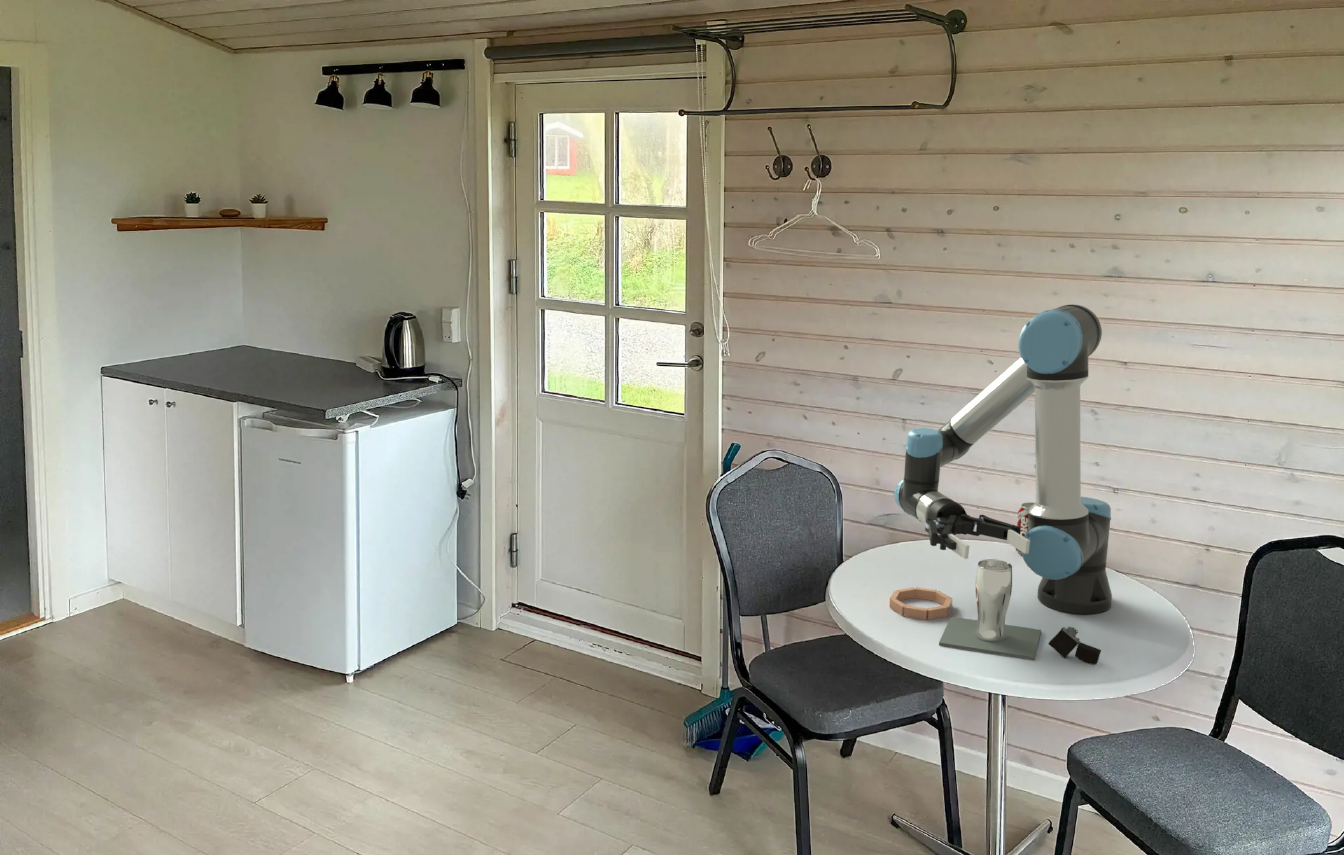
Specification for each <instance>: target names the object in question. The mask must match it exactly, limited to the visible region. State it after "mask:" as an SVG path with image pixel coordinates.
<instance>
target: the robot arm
mask: <svg viewBox="0 0 1344 855" xmlns="http://www.w3.org/2000/svg"><path fill="white" fill-rule="evenodd" d="M1102 335H1103V330H1102V324H1101V322H1100V320H1099V317H1098V316H1097V315H1096V313H1094V312H1093V311H1092V310H1090V309H1089V308H1087V307H1085V306H1083V305H1080V304H1075V303H1074V304H1065V305H1064V304H1063V305H1062V306H1057V308H1053V309H1047V310H1043V311H1041V312H1039V313H1037V314H1035V315H1034V316H1033V317H1032V318H1031V319H1030V320H1029V321H1027V322H1026V323H1025V324H1024V326H1023V327H1022V329H1021V331H1020V333H1019V337H1018V344H1017V346H1018V352H1019V355H1020V357H1019V358H1018V359H1017V360H1016V361H1014V362H1013V363H1012V364H1011V365H1010V366H1009V367H1007V369H1005V370H1004V371H1003V372H1002V373H1001V374H999V376H998V377H996V378H995V379H994V380H993V381H992V382H991V383H990V384H989V385H987V386H986V387H985V388H984V389H983V390H982V391H981V392H979V394H977V395H976V396H975V397H974V398H973V399H972V400H970V401H969V403H967V404H966V405H965V406H964V407H962V408H961V409H960V410H959V411H958V412H957V413H956V414H955V415H954V416H952V418H950V419H949V420H948V421H947V422H946V423H944V424H943V426H941V427H940V428H939V429H933V428H928V427H919V428H913V429H911V430H909V431H908V433H907V438H906V443H905V456H904V457H905V458H904V459H905V460H904V471H903V472H904V475H903V476H904V477H903V479H902V480H901V481H899V482H898V484H897V486H896V488H895V489H894V494H893V496H894V501H895V503H896V505H897V506H898V507H899V508H900V509H902V510H903V512H904V513H905V514H907V515H909V516H911V517H913V518H915V519H916V520H918V521H919V522H920V523H922V524H924V527H925V528H924V531H925V532H926V533H927V534H928V538H929V544H930V546H932V547H937V545H938V544H939V550H941V551H946V550H947V549H949V550H950V551H952V552H954V553H955V554H957V555H958V556H959V557H961V558H963V559H965V560H967V559H969V553H970V544H969V543H966V541H963V540H962V539H961V538H959V537H957V536H956V535H965V536H966V535H970V536H975V537H979V536H981V535H982V536H986V537H988V538H989V537H990V538H995V539H999V540H1005V541H1006V544H1009V545H1010V546H1012V547H1014V548H1015V549H1016V548H1017V549H1018V550H1020V551H1021V553H1022V554H1021V556H1022V558H1023V561H1024V563H1025V564H1026V566H1027V568H1029V569H1030V570H1031V571H1032V572H1033V573H1034V574H1035V575H1038V576H1039V577H1041V579H1040V581H1039V583H1038V584H1039V585H1038V588H1037V596H1036V597H1037V599H1038V601H1039V602H1041V604H1043V605H1044V606H1046V607H1048V608H1051V609H1054V610H1056V611H1059V612H1064V613H1069V614H1076V615H1077V614H1079V615H1093V614H1100V613H1104V612H1106V611H1108V610H1109V609H1111V607H1112V602H1113V601H1112V600H1113V594H1112V590H1111V587H1110V586H1111V585H1110V582H1109V579H1108V575H1107V570H1106V568H1107V559H1108V549H1109V548H1108V547H1109V539H1110V538H1109V537H1110V528H1111V527H1110V526H1111V520H1112V516H1111V515H1112V514H1111V513H1112V512H1111V510H1112V509H1111V507H1110V504H1108V502H1106V501H1104V500H1100V499H1099V498H1098V499H1097V498H1092V497H1087V496H1081V489H1082V488H1081V385H1082V384H1083V383H1084V382H1085V381H1086V380H1088V378H1089V357H1090V356H1092V354H1094V352H1096V350H1097V348H1098V347H1099V346H1100V343H1101V340H1102ZM1032 395H1034V428H1035V429H1034V436H1035V437H1034V438H1035V439H1034V440H1035V441H1034V442H1035V444H1034V446H1035V454H1034V455H1035V502H1033V503H1034V504H1033V505H1032V506H1031V507H1030V508H1029V510H1028V532H1027V533H1026V534H1025V536H1024V537H1023V536H1022V535H1020V530H1021V527H1019V526H1017V525H1015V524H1012V523H1008V522H1005V521H1001V520H999V519H994V518H992V517H989V516H987V515H985V514H979V516H978V518H977V517H974V516H973V517H972V516H971V515H969V514H967V511H966V509H965V508H964V507H963V506H962V504H959V503H958V502H956V501H954V500H953V499H952V498H950V497H948V496H947V495H945V494H943V493H941V492H940V491H939V484H940V483H939V482H940V474H941V467H944V466H946V465H948V464H949V463H951V462H953V461H956V460H958V459H959V460H960V458H962V457H963V456H964V455H965V454H967V453H968V452H969V450H971V449H970V448H971V447H972V446H973V445H975V443H978V441H979V440H980V439H981V438H983V437H984V436H985V435H986V434H987V433H989V432H991V430H992V429H994V428H995V426H996V425H998V424H999V423H1000V422H1001V421H1003V420H1004V419H1005V418H1006V417H1008V415H1010V414H1011V413H1012V412H1013V411H1014V410H1016V409H1017V408H1018V407H1020V405H1021V404H1023V403H1025V401H1026V400H1027V399H1029V398H1030V397H1031V396H1032ZM975 526H976V529H975Z"/></svg>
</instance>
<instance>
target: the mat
mask: <svg viewBox="0 0 1344 855" xmlns="http://www.w3.org/2000/svg"><path fill="white" fill-rule="evenodd" d="M977 621H978V619H977V620H976V619H972V618H971V619H970V618H964V617H963V618H962V617H957V616H950V618H949V620H948V622H947V625H946V626H945V628H944V631H943V633H942V635H941V637H940V639H939V642H938V646H940V647H942V646H943V647H946V648H947V647H948V648H952V649H953V648H954V649H961V650H966V651H967V650H968V651H972V652H973V651H974V652H980V653H985V654H986V653H987V654H993V655H999V656H1004V657H1012V658H1018V659H1025V660H1031V661H1035V657H1036V653H1037V649H1038V645H1039V642H1040V637H1041V634H1042V629H1038V628H1032V627H1024V626H1018V625H1012V624H1011V625H1010V624H1006V623H1005V629H1006V639H1004V640H1003V641H999V642H989V641H984V640H981V639H979V638H977V637H976V636H975V629H976V625H977Z"/></svg>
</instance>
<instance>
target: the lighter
mask: <svg viewBox="0 0 1344 855" xmlns="http://www.w3.org/2000/svg"><path fill="white" fill-rule="evenodd" d="M1078 633H1079V631H1078V630H1077V629H1076V628H1075V627H1072V626H1068V627H1067V628H1066V627H1064V626H1063V627H1061V629H1059V631H1058V632H1057V634H1055V635H1054V636H1053V637H1052V639H1050V640H1049V642H1048V643H1047V645H1049V646H1050V647H1051V648H1052V649H1053V650H1054V651H1056V652H1057V653H1058V654H1059V655H1060V656H1061V657H1063V658H1064V659H1065V658H1067V657H1068V655H1070V653H1071V652H1072V651H1073V650H1075V649H1076V650H1075V653H1074V657H1075V658H1076V659H1078V660H1079V661H1080V662H1081V661H1082V662H1083V663H1086V664H1089V665H1097V663H1098V662H1099V658H1100V655H1101V652H1102V650H1101V649H1099V648H1096V647H1094V646H1092V645H1090V644H1089V645H1088V644H1087V643H1084V642H1081V640H1080V638H1079V637H1077V636H1076V635H1077V634H1078Z"/></svg>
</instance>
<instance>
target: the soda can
mask: <svg viewBox="0 0 1344 855" xmlns="http://www.w3.org/2000/svg"><path fill="white" fill-rule="evenodd" d="M1034 503H1035V502H1023V503H1021V507H1020V508H1019V510H1018V511H1017V520H1016V521H1017V524H1016V526H1019V527H1021V530H1020V535H1022V536H1023V537H1024V536H1025V534H1026V533H1027V532H1028V510H1029V508H1030V507H1031V506H1032V505H1033V504H1034ZM1015 551H1016V552H1017V553H1019V554H1020V555H1022V553H1021V551H1020V550H1018V549H1017V548H1015Z"/></svg>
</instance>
